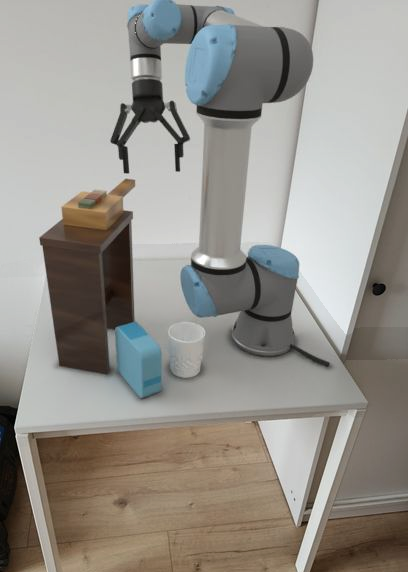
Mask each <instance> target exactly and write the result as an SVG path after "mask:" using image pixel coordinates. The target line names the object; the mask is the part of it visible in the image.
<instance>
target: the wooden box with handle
mask: <svg viewBox="0 0 408 572" xmlns="http://www.w3.org/2000/svg"><path fill="white" fill-rule="evenodd" d="M135 187H136V179H133V178H125V179H123V180H122V181H121V182H119V184H118V185H116V186H115V187H114V188H113V189H112V190H110V192H107V190H102V189H96V188H94V189H93V190H92V191H91V192H90V191H83V190H82V191H81V192H79V193H77V194H76V195H75V196H73V197H71V199H70V200H68V201H67V202H66V203H64V204H63V205H62V206H61V207H60V208H61V218H62V219H63V225H70V226H78V227H85V228H93V229H100V230H107V229H108V228H109V227H110V226H111V225H112V224H113V223H114V222H115V221H116V220H117V219H118V218H119V217H120V216H121V215H122V214H123V210H124V197H126V196H127V195H128V194H129V193H130V192H131V191H132V190H133V189H134V188H135Z"/></svg>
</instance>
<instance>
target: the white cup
mask: <svg viewBox="0 0 408 572" xmlns="http://www.w3.org/2000/svg"><path fill="white" fill-rule="evenodd" d="M167 335H168V337H167V338H168V356H169V358H168V359H169V370H170V371H171V373H172V375H174V376H176V377H178V378H182V379H190V378H193V377H196V376H197V375H198V374H199V373H201V365H202V361H203V355H204V347H205V338H206V330H205V328H204V327H203V326H202V325H200V324H198V323H196V322H190V321H181V322H177V323H174V324H172V325H171V326H170V327H169V328H168V331H167Z"/></svg>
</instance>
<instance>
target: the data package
mask: <svg viewBox="0 0 408 572" xmlns="http://www.w3.org/2000/svg"><path fill="white" fill-rule="evenodd" d="M114 336H115V337H114V339H115V356H116V357H115V358H116V367H117V370H118V373H119V374H120V376H121V377H122V378H123V379H124V380H125V382H126V383H127V384H128V385H129V386H130V388H131V389H132V390H133V391H134V393H135V394H136V395H137V396H138V397H139V398H140V399H143V398H146V397H148V396H151V395H154V394H157V393H159V392H161V391H162V348H161V346H160V344H159V343H158V342H157V341H156V340H155V339H154V338H153V337H152V336H151V335H150V334H149V333H148V332H147V331H146V330H145V329H144V328H143V327H142V326H141V325H140V324H139V323H138V322H137V321H135V322H132V323H129V324H125V325H122V326H118V327H116V328H115V329H114Z"/></svg>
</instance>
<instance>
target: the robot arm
mask: <svg viewBox="0 0 408 572" xmlns="http://www.w3.org/2000/svg"><path fill="white" fill-rule="evenodd" d="M139 15H140V16H139ZM138 16H139V17H138ZM136 19H137V20H136ZM135 22H136V24H135ZM126 27H127V32H128V46H129V47H128V48H129V62H130V78H131V80H132V83H131V93H132V103H131V104H126V103H123V102H122V103H120V105H119V106H120V107H119V115H118V118H117V120H116V123H115V126H114V128H113V132H112V134H111V138H110V141H109V142H110V144H113V145H116V146H117V150H118V159H119V160H120V161H122V169H123V174H130V162H129V161H130V160H129V150H128V149H129V148H128V146H126V144H127V142H128V141H129V139H130V138H131V136H132V135H133V133H135V130H137V127H138V126H139V125H140V124H141V123H143V124H148V123H153V124H155V123H157V122H158V121H159V122H160V124H161V125H162V126H163V127H164V128H165V130H167V132H168V133H169V134H170V135H171V137H172V138H173V139H174V141H175V142H176V143H174V145H173V146H174V166H175V167H174V168H175V169H174V170H175V172H178V173H180V172H181V159H182V158H184V156H185V155H184V144H185V143H187V142H190V141H191V137H190V134H189V133H188V130H187V128H186V126H185V125H184V123H183V121H182V118H181V116H180V115H179V112H178V109H177V103H176V102H175V101H174V100H170V101H169V102H164V91H163V83H162V79H163V73H162V72H163V70H162V50H161V49H162V48H161V46H163V45H164V44H168V45H169V44H170V45H171V44H173V45H190V46H189V49H188V52H187V56H186V60H185V61H186V62H185V68H184V85H185V86H186V89H185V91H186V96H187V98H188V100H189V101H190V103H191V104H194V105H195V106H196V111H195V112H196V116H197V117H199V119H200V120H201V121H202V122H203V144H202V145H203V146H202V147H203V148H202V168H201V169H202V170H201V171H202V172H201V189H200V190H201V192H200V211H199V212H200V216H199V235H198V237H199V238H198V240H199V241H198V247H196V248H195V249H193V251H191V257H190V264H185V265H184V266H182V268H181V270H180V276H179V277H180V285H181V286H180V287H181V291H182V294H183V297H184V300H185V303H186V305H187V307H188V308H189V310H190V311H191V313H192V314H193V315H194V316H195V317H198V318H200V319H201V318H202V319H204V318H210V317H211V318H212V317H213V318H216V317H218V316H223V315H228V314H233V313H239V314H238V316H237V318H236V320H234V321H233V323H232V327H231V340H232V341H233V343H234V345H235V346H236V347H238V349H240V350H242V351H244V353H245V352H246V353H247V354H251V355H254V356H258V357H278V356H281V355H284V354H286V353H288V352H289V351H290V350H294V351H295V352H297V353H299V354H301V355H303V356H304V357H306V358H308V359H310V360H312V361H314V362H317V363H318V364H321V365H324V366H326V367H329V366H330V364H331V363H330V362H329V361H327V360H324V359H322V358H319V357H317V356H314V355H313V354H311V353H309V352H308V351H306V350H303V349H302V348H300V347H298V346H296V345H295V344H294V342H295V331H294V328H293V318H292V312H293V307H294V301H295V295H296V290H297V285H298V279H299V278H300V275H299V274H300V261H299V258H298V257H297V256H296V255H295V254H294V253H292V252H291V251H289V250H287V249H284V248H283V247H282V248H281V247H279V246H275V245H271V244H270V245H269V244H255V245H252V246H251V247H250V248H249V249H248V252H247V255H246V254H245V253H244V251H243V250H242V249H241V243H242V234H243V221H244V211H245V200H246V193H247V192H246V191H247V179H248V170H249V161H250V160H249V159H250V149H251V139H252V127H253V126H254V125H255V124H256V123H257V122H259V120H260V119H261V118H262V111H263V104H274V103H275V104H276V103H281V102H285V101H287V100H290V99H292V98H294V97H295V96H296V95H298V94H299V93H300V92H301V91H302V90H303V88H305V86H306V85H307V83H308V82H309V79H310V77H311V75H312V73H313V69H314V53H313V49H312V46H311V44H310V42H309V40H308V39H307V38H306V36H304V34H302V33H301V32H299V31H297V30H296V29H293V28H289V27H284V26H264V25H261V24H258V23H256V22H254V21H252V20H249V19H245V18H244V17H241V16H238V15H236V14H235V11H234V10H233V9H232V8H231V7H226V6H220V5H215V6H211V5H192V4H177V3H176V2H175V1H174V0H152V1H150V2H149V3H148V4H136V5H134V6H131V7H130V8H128V11H127V23H126ZM135 32H136V33H135ZM165 110H167V111H168V112H170V114H171V116H172V118H173V119H174V121H175V123H176V126H177V127H178V130H179V131H180V133H181V135H182V136H180V134H179V133H177V131H176V130H175V128H173V126H172V125H171V124H170V122H169V121H168V120H167V119H166V118H165V117H164V115H163V113H164V111H165ZM131 111H132V112H133V114H134V115H133V117H132V119H131V121H130V123H129V124H128V126H127V127H126V129H125V130H124V127H125V124H126V121H127V118H128V115H129V114H130V113H131ZM123 130H124V131H123ZM122 132H123V133H122Z"/></svg>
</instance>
